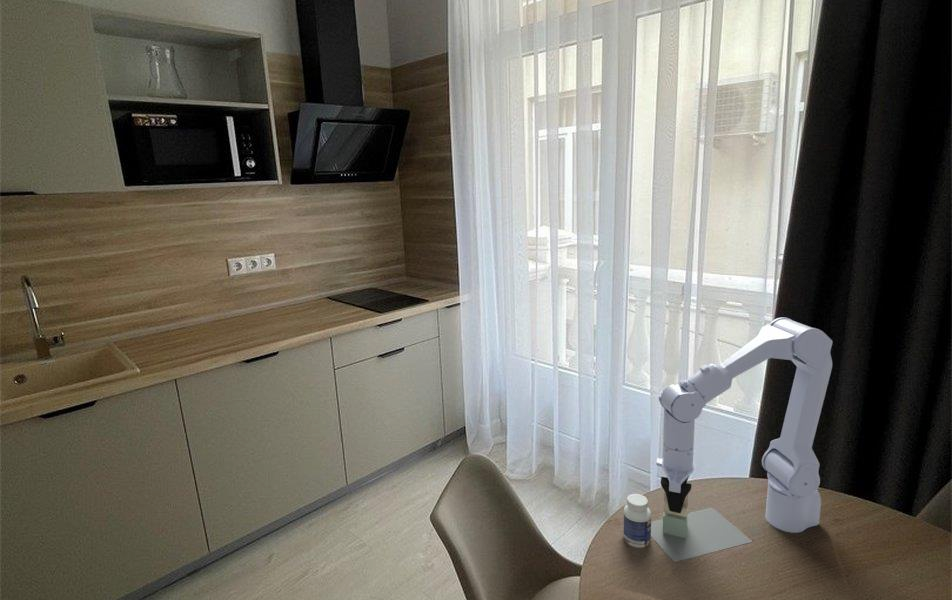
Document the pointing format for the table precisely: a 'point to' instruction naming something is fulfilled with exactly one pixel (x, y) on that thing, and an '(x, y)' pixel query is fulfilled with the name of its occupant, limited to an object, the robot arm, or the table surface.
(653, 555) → the table surface
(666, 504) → the birch block
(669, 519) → the sage block
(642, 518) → the pill bottle
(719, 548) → the board
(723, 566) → the table surface
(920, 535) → the table surface
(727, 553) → the table surface
